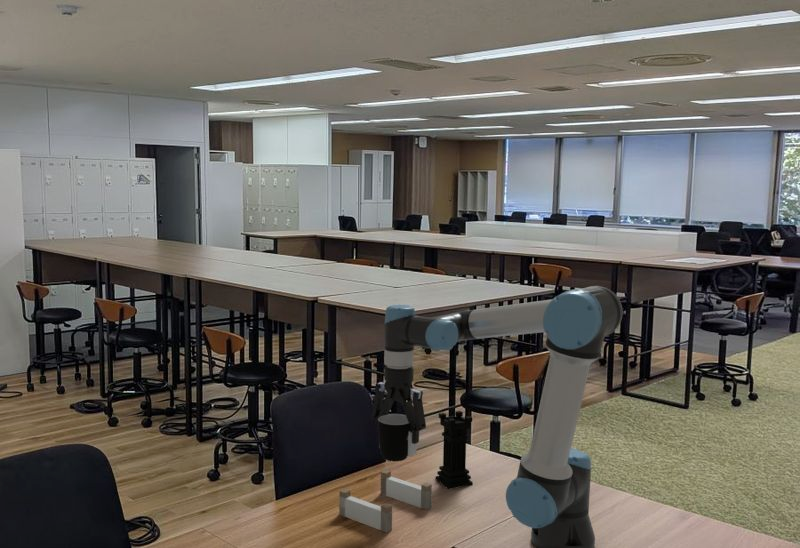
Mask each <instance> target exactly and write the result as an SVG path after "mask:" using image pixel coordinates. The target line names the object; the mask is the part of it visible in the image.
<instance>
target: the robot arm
mask: <svg viewBox="0 0 800 548" xmlns="http://www.w3.org/2000/svg"><path fill="white" fill-rule="evenodd" d="M623 313H624V312H623V305H622V303H621V300H620V298H619V297H618V295H616V293H615V292H614V291H612V290H611V289H609V288H607V287H604V286H601V285H590V286H587V287H583V288H577V289H575V288H574V289H569V290H566V291H564V292H562V293H560V294H558V295H557V296H555V297H554V298H551V299H546V300H545V299H544V300H537V301H530V302H523V303H514V304H507V305H501V306H493V307H485V308H478V309H473V310H472V309H471V310H470V309H465V310H459V311H456V312H455V311H454V312H452V313H447V314H442V315H437V316H434V317H430V316H429V317H428V316H421V315H416V313H415V307H413V306H412V305H408V304H392V305H389V306H387V307H386V309H385V315H384V355H383V357H384V360H383V361H384V362H383V363H384V365H385V366H384V367H383V368H384V369H383V372H384V374H383V379H384V381H385V382H384V381H380V382H378V383H375V385H374V388H375V396H374V399H373V405H372V410H371V419H372V420H375V421H376V422H377V423H378V418H379V417H381V416H383V415H387V414H390V411H391V408H392V406H393V404H394V402H397V403H400V406H401V407H402V408H403V411H404V415H406V417H407V420H408V423H409V426H410V429H411V430H410V431H409V436H408V456H407V457H414V455H417V446H418V443H419V442H420V431H422V430H425V429H427V425H426V424H427V423H426V417H425V416H426V415H425V411H424V410H425V409H424V405H423V404H424V403H423V396H424V395H423V394H424V392H423V390H422V389H421V390H417V389H414V386H413V381H414V372H415V371H414V366H413V365H414V362H415V360H414V358H415V357H414V355H415V354H414V351H415V347H421V348H425V349H431V350H435V351H446V352H447V351H451V350H452V349H453V347H454V346H456V344H457V343H458V342H462V341H463V342H464V341H470V340H477V339H478V340H479V339H487V338H498V337H508V336H518V335H528V334H539V333H545V334H546V341H545V348H546V349H547V350H548V352H549V354H550V356H549V361H548V364H547V365H548V366H547V370H546V375H545V379H544V382H543V383H544V384H543V388H542V393H541V398H540V401H539V407H538V411H537V416H536V421H535V425H534V430H533V434H532V438H531V443H530V448H529V452H526V453H525V454H523V455H522V456H521V458H520V461H519V462H520V463H519V464H518V471H517V475H516V478H514V479H512V480H511V481H510V482H509V484H508V485H507V488H506V491H505V501H506V505H507V508H508V510H510V512H511V514H512V516H513V517H514V518H515V519H516V520H517V521H518V522H519V523H521V524H522V525H524V526H526V527H527V528H531V531H530V540H531V543H532V545H533V546H535V547H536V548H595V545H596V543H595V542H596V537H595V533H594V529H593V526H592V521H591V519H590V515H589V510H590V509H589V507H590V496H591V494H590V493H591V472H592V465H591V462H592V460H591V457H590V456H589V455H588V453H586V452H584V451H582V450H579V449H576V448H573V447H572V445H573V441H574V436H575V432H576V428H577V424H578V419H579V414H580V411H581V406H582V402H583V398H584V393H585V388H586V384H587V380H588V376H589V371H590V366H591V365H592V363H594V362H595V361H597V360H599V359H600V357H601V352H602V348H603V345H604V341H605V340H604V339H605V337H608V336H609V335H611V334H612V333H614V332H615V331H616V330H617V328H619V326H620V325H621V322H622V320H623ZM385 394H386V395H385ZM378 448H379V449H380V447H378Z"/></svg>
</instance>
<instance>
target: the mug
mask: <svg viewBox="0 0 800 548" xmlns="http://www.w3.org/2000/svg"><path fill="white" fill-rule="evenodd" d="M410 430H411V429H410V426H409V423H408V420H407V417H406V414H400V413H388V414H387V415H383V416H381V417H379V418H378V422H377V435H378V436H377V437H378V446H379V447H380V448H379V447H378V448H379V451H380V456H382V458H383V460H384V461H385V460H386V461H388V462H401V461H405V460H406V459H407V458H408V457H409V456H408V436H409V431H410Z"/></svg>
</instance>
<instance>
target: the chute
mask: <svg viewBox="0 0 800 548" xmlns="http://www.w3.org/2000/svg"><path fill="white" fill-rule="evenodd" d="M432 486H433V485H432V483H428V482H424V483H422V484H421V485H419V484H416V483H413V482H409V481H406V480H402V479H400V478H397V477H394V476H392V471H390V470H387V469H384V470H382V471H380V495H382V496H386V497H389V498H392V499H394V500H398V501H401V502H403V503H405V504H409V505H412V506H414V507H417V508H421V509H423V510H426V511H427V510H429V509H431V508H432V493H433V492H432ZM338 495H339V499H338V500H339V501H338V503H339V505H338V506H339V507H338V508H339V509H338V510H339V515H340V516H342V517H345V518H348V519H350V520H353V521H355V522H357V523H360V524H364V525H366V526H368V527H371V528H373V529H376V530H379V531H381V532H384V533H389V532H391V531H392V530H393V505H392V504H390V503H386V502H385V503H384V504H382V505H377V504H375V503H372V502H369V501H366V500H364V499H360V498H358V497H354V496H353V495H351V490H349V489H347V488H343V489H340V490H339V494H338Z"/></svg>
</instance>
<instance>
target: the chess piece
mask: <svg viewBox="0 0 800 548" xmlns="http://www.w3.org/2000/svg"><path fill="white" fill-rule="evenodd" d="M463 415H464V413H463V411H462V410H456V411H455V414H454V415H450V416H447V413H445V412H440V413H438V418H439V419H440V421H439V423H440V424H439V425H440V426H442V427H443V432H441V436H443V446H442V447H443V451H442V452H443V453H442V465H439V467H438V468H439V469H438V470H437V473H436V474H437V475H435V477H434V478H435V480H436V479H437V480H438V482H439V483H440V485H442V486H444V487H445V488H446V487H447V489H448V490H451V489H450V488H452V489H457V488H461V487H467V486H473V483H474V482H473V481H472V477H471V475H470V471H469V469H467V468H466V466H467V465H466V464H467V463H466V459H467V458H466V455H467V440H468V439H469V435H467V429H471V423H472V422H473V417H472V416H470V415H468V416H464V417H463ZM437 480H436V481H437ZM456 487H457V488H456Z"/></svg>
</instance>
